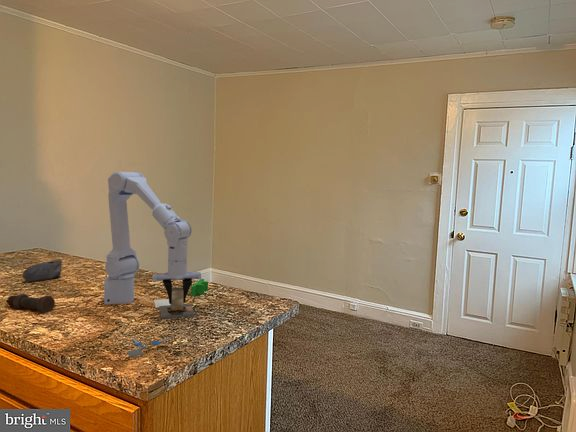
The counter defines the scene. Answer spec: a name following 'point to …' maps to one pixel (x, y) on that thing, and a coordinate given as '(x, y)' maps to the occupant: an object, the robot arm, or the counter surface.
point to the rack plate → (165, 313)
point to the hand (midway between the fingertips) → (176, 302)
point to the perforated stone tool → (43, 271)
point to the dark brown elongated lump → (32, 302)
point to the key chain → (138, 351)
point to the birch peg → (177, 298)
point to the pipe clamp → (199, 287)
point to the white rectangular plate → (161, 302)
